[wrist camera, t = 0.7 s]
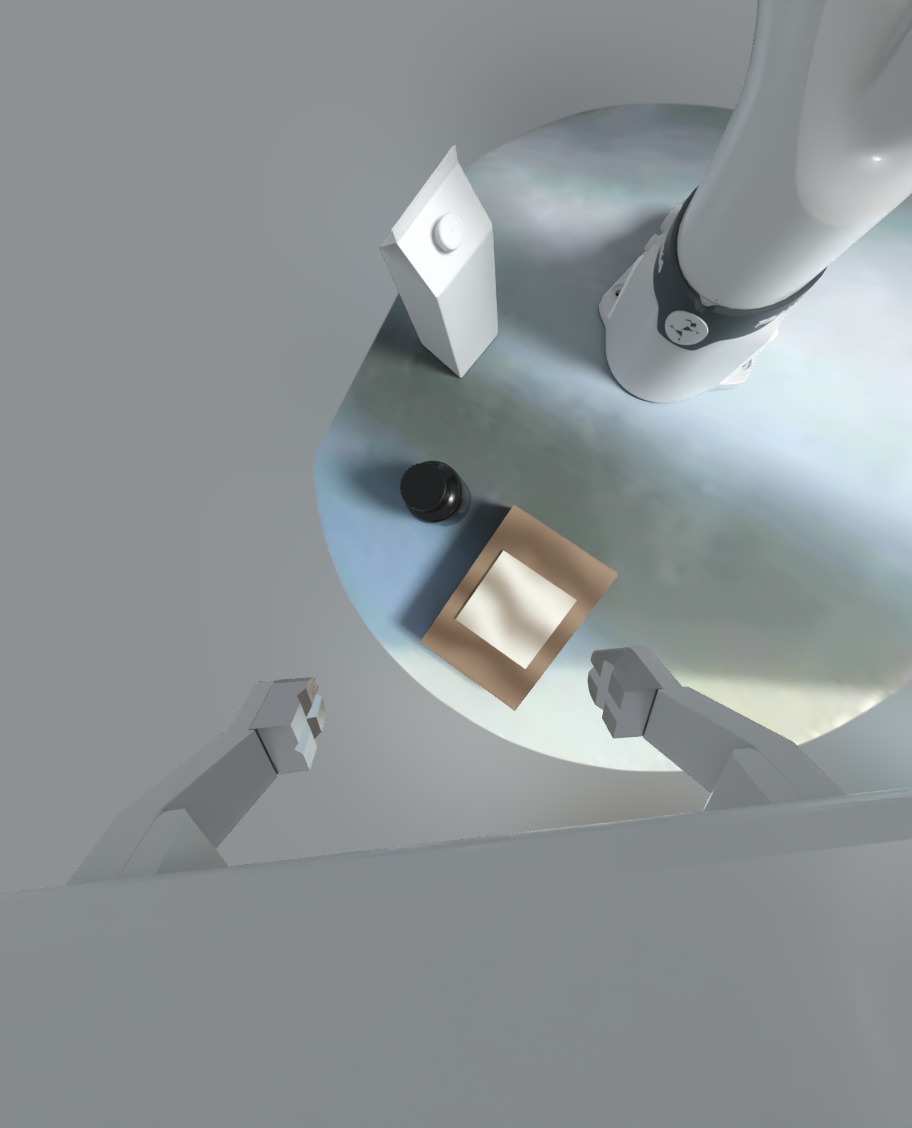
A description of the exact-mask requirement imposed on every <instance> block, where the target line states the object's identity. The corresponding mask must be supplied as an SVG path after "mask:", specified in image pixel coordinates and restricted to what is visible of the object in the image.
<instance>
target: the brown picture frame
mask: <svg viewBox="0 0 912 1128" xmlns="http://www.w3.org/2000/svg"><path fill="white" fill-rule="evenodd" d="M618 575H619V574H618V573H617V572H615V571H613V570H612V569H610V568H609V567H607V566H606V565H604V564H603V563H601V562H600V561H598V560H597V559H595V558H594V557H592V556H591V555H589V554H588V553H586V552H585V551H583V550H582V549H580V548H579V547H577V546H576V545H574V544H573V543H571V542H570V541H568V540H567V539H565V538H564V537H562V536H561V535H559V534H558V533H556V532H555V531H553V530H552V529H550V528H549V527H547V526H546V525H544V524H543V523H541V522H540V521H538V520H536V519H535V518H533V517H532V516H530V515H529V514H527V513H526V512H524V511H523V510H521V509H520V508H518V507H517V506H515V505H513V507H512V508H511V510H510V511H509V513H508V514H507V515H506V517H505V518H504V520H503V521H502V523H501V524H500V526H499V527H498V529H497V530H496V532H495V533H494V534H493V536H492V537H491V539H490V540H489V542H488V543H487V545H486V546H485V548H484V549H483V551H482V552H481V553H480V555H479V556H478V558H477V559H476V561H475V562H474V564H473V565H472V567H471V568H470V570H469V571H468V573H467V574H466V575H465V577H464V578H463V580H462V581H461V583H460V584H459V586H458V587H457V589H456V590H455V592H454V593H453V594H452V596H451V597H450V599H449V600H448V602H447V603H446V605H445V606H444V608H443V609H442V611H441V612H440V613H439V615H438V616H437V618H436V619H435V621H434V622H433V624H432V625H431V627H430V628H429V630H428V631H427V632H426V634H425V635H424V637H423V638H422V640H421V641H420V642H421V643H422V644H424V645H425V646H426V647H428V648H429V649H431V650H432V651H433V652H435V653H436V654H437V655H439V656H440V657H442V658H443V659H444V660H446V661H447V662H448V663H450V664H451V665H453V666H454V667H455V668H457V669H458V670H459V671H461V672H462V673H464V674H465V675H466V676H468V677H469V678H470V679H472V680H473V681H475V682H476V683H477V684H479V685H480V686H481V687H483V688H484V689H486V690H487V691H488V692H490V693H491V694H492V695H494V696H495V697H497V698H498V699H499V700H501V701H502V702H503V703H505V704H506V705H508V706H509V707H510V708H512V709H513V710H514V711H515V710H516V709H517V707H518V706H519V705H520V704H521V702H522V701H523V700H524V698H525V697H526V696H527V694H528V693H529V692H530V690H531V689H532V688H533V686H534V685H535V684H536V682H537V681H538V680H539V679H540V677H541V676H542V675H543V673H544V672H545V671H546V669H547V668H548V667H549V665H550V664H551V663H552V661H553V660H554V659H555V657H556V656H557V655H558V654H559V652H560V651H561V650H562V648H563V647H564V646H565V644H566V643H567V642H568V640H569V639H570V638H571V636H572V635H573V634H574V632H575V631H576V630H577V629H578V627H579V626H580V625H581V623H582V622H583V621H584V619H585V618H586V617H587V615H588V614H589V613H590V611H591V610H592V609H593V607H594V606H595V605H596V604H597V602H598V601H599V600H600V598H601V597H602V596H603V594H604V593H605V592H606V590H607V589H608V588H609V586H610V585H611V584H612V582H613V581H614V580H615V579H616V577H617V576H618Z"/></svg>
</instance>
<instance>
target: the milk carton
mask: <svg viewBox="0 0 912 1128" xmlns="http://www.w3.org/2000/svg"><path fill="white" fill-rule="evenodd" d="M379 248H380V251H381V253H382V255H383V257H384V259H385V262H386V264H387V266H388V268H389V271H390V273H391V275H392V278H393V280H394V282H395V284H396V287H397V289H398V291H399V294H400V296H401V298H402V300H403V303H404V305H405V307H406V309H407V312H408V314H409V316H410V318H411V321H412V323H413V325H414V327H415V330H416V332H417V334H418V337H419V339H420V341H421V343H422V344H423V345H424V346H425V347H426V348H427V349H428V350H429V351H431V352H432V353H433V354H434V355H435V356H436V357H437V358H438V359H440V360H441V361H442V362H443V363H444V364H445V365H446V366H447V367H449V368H450V369H451V370H452V371H453V372H454V373H455V374H456V375H458V376H459V377H460V378H462V377H463V376H464V375H465V373H466V372H467V371H468V370H469V368H470V367H471V366H472V365H473V364H474V362H475V361H476V360H477V359H478V358H479V356H480V355H481V354H482V353H483V352H484V350H485V349H486V348H487V347H488V346H489V344H490V343H491V342H492V341H493V340H494V338H495V337H496V336H497V334H498V317H497V297H496V278H495V259H494V239H493V225H492V223H491V221H490V219H489V217H488V215H487V213H486V212H485V210H484V208H483V206H482V204H481V203H480V201H479V199H478V197H477V195H476V193H475V192H474V190H473V188H472V186H471V184H470V183H469V181H468V179H467V177H466V175H465V174H464V172H463V170H462V168H461V166H460V165H459V163H458V159H457V152H456V146H454V145H453V146H452V148H451V149H450V150H449V152H448V153H447V154H446V156H445V157H444V158H443V160H442V161H441V163H440V164H439V165H438V167H437V168H436V169H435V171H434V172H433V173H432V175H431V176H430V178H429V179H428V180H427V182H426V183H425V185H424V186H423V187H422V189H421V190H420V191H419V193H418V194H417V195H416V197H415V198H414V199H413V201H412V202H411V204H410V205H409V206H408V208H407V209H406V210H405V212H404V213H403V214H402V216H401V217H400V219H399V220H398V221H397V223H396V224H395V226H394V227H393V228H392V230H391V231H390V233H389V234H388V236H387V237H386V238H385V240H384V241H383V242H382V244H381V245H380V247H379Z"/></svg>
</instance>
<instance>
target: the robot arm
mask: <svg viewBox="0 0 912 1128" xmlns="http://www.w3.org/2000/svg"><path fill="white" fill-rule="evenodd" d="M911 193H912V0H758V3H757V17H756V25H755V32H754V39H753V47H752V52H751V57H750V62H749V67H748V70H747V74H746V78H745V82H744V85H743V88H742V91H741V94H740V97H739V99H738V102H737V104H736V107H735V109H734V111H733V114H732V116H731V118H730V121H729V123H728V125H727V128H726V130H725V132H724V135H723V137H722V139H721V141H720V143H719V145H718V148H717V150H716V152H715V154H714V156H713V158H712V160H711V162H710V164H709V166H708V168H707V171H706V173H705V175H704V177H703V179H702V181H701V183H700V185H699V186H698V187H697V188H696V189H695V190H694V191H693V192H692V193H691V195H690V196H689V197H688V198H687V200H686V201H685V203H684V204H681V203H677V204H676V205H675V206H674V207H673V208H672V209H671V211H670V212H669V213H668V215H667V216H666V218H665V219H664V221H663V223H662V225H661V227H660V231H661V232H662V233H661V234H660V235H659V236H658V235H656V234H654V235H653V236H652V237H651V238H650V240H649V241H648V242H647V244H646V246H645V248H644V250H645V251H644V252H643V254H642V255H641V256H639V258H638V259H637V260H636V261H635V262H634V263H633V264H632V265H631V266H630V267H629V268H628V269H627V271H626V272H625V273H624V274H623V275H622V276H621V277H620V278H619V279H618V280H617V281H616V282H615V283H614V284H613V285H612V286H611V288H610V289H609V290H608V291H607V292H606V293H605V294H604V295H603V297H602V299H601V301H600V303H599V312H600V315H601V318H602V320H603V323H604V325H605V328H606V356H607V361H608V364H609V367H610V369H611V372H612V373H613V375H614V377H615V378H616V380H617V381H618V382H619V383H620V385H621V386H622V387H623V388H625V389H626V390H627V391H628V392H630V393H631V394H633V395H635V396H637V397H639V398H641V399H644V400H647V401H651V402H658V403H671V402H678V401H683V400H686V399H689V398H692V397H694V396H696V395H699V394H701V393H703V392H706V391H709V390H719V389H730V388H735V387H737V386H739V385H740V384H741V383H742V382H744V381H745V380H746V379H747V377H748V375H749V373H750V371H751V369H752V367H753V365H754V363H755V361H756V359H757V357H758V355H759V353H760V351H761V350H762V349H763V348H764V347H766V346H767V345H768V344H769V343H770V342H771V341H772V340H773V339H774V338H775V337H776V336H777V334H778V331H777V329H778V327H779V325H780V324H781V322H782V320H783V317H784V315H785V313H786V311H787V310H788V309H789V308H790V307H792V306H793V305H794V304H795V303H796V302H797V301H798V300H799V299H800V298H801V297H803V295H804V294H805V293H806V292H807V291H808V290H809V289H810V288H811V287H812V286H813V285H814V284H815V282H816V281H817V280H818V279H819V278H820V277H821V276H822V274H823V273H824V271H825V270H826V268H827V267H828V265H829V264H830V263H832V262H833V261H834V260H835V259H836V258H837V257H839V256H840V255H841V254H842V253H843V252H844V251H845V250H847V249H848V248H849V247H850V246H851V245H852V244H854V243H855V242H856V241H857V240H858V239H859V238H861V237H862V236H863V235H864V234H865V233H866V232H867V231H869V230H870V229H871V228H872V227H873V226H874V225H876V224H877V223H878V222H879V221H880V220H881V219H882V218H884V217H885V216H886V215H887V214H888V213H889V212H891V211H892V210H893V209H894V208H895V207H896V206H898V205H899V204H900V203H901V202H902V201H903V200H904V199H905V198H907V197H908V196H909V195H910V194H911ZM617 293H618V294H619V296H618V297H617V296H616V295H615V294H617ZM741 367H742V368H741ZM591 662H592V664H593V666H594V667H593V668H592V669H591V670H590V671H589V674H588V687H589V692H590V695H591V697H592V699H593V701H594V703H595V705H597V706H598V707H599V708H601V709H602V710H603V715H602V719H603V720H604V722H605V724H606V726H607V728H608V730H609V732H610V733H611V735H612V737H613V738H625V737H638V736H644V737H643V738H644V739H645V740H647V741H648V742H649V743H650V744H652V745H653V746H654V747H655V748H656V749H658V750H659V751H660V752H661V753H663V754H664V755H665V756H666V757H667V758H669V759H670V760H671V761H672V762H674V763H675V764H676V765H677V766H678V767H680V768H681V769H682V770H683V771H685V772H686V773H687V774H688V775H689V776H691V777H692V778H693V779H694V780H696V781H697V782H698V783H699V784H700V785H702V786H703V787H704V788H705V789H706V790H708V791H709V792H710V793H711V795H710V797H709V799H708V801H707V803H706V805H705V807H704V810H703V812H695V813H686V814H677V815H668V816H659V817H651V818H643V819H633V820H625V821H617V822H607V823H599V824H591V825H581V826H573V827H564V828H555V829H547V830H538V831H529V832H521V833H512V834H503V835H494V836H486V837H477V838H469V839H460V840H452V841H443V842H434V843H426V844H418V845H409V846H400V847H392V848H384V849H374V850H366V851H357V852H349V853H340V854H331V855H323V856H314V857H305V858H297V859H288V860H279V861H271V862H262V863H254V864H245V865H237V866H228V864H227V862H226V861H225V860H224V858H223V857H222V856H221V854H220V853H219V852H218V851H217V849H216V848H217V847H218V846H219V845H220V844H221V842H222V841H223V840H224V839H225V838H226V836H227V835H228V834H229V833H230V832H231V831H232V829H233V828H234V827H235V826H236V825H237V823H238V822H239V821H240V820H241V819H242V818H243V816H244V815H245V814H246V813H247V812H248V811H249V809H250V808H251V807H252V806H253V805H254V804H255V802H256V801H257V800H258V799H259V798H260V797H261V795H262V794H263V793H264V792H265V791H266V789H267V788H268V787H269V786H270V785H271V784H272V782H273V781H274V780H275V779H276V778H277V775H278V774H285V773H292V772H300V771H308V770H310V768H311V765H312V761H313V758H314V755H315V752H316V748H317V745H316V743H315V740H314V739H315V738H316V737H317V736H318V735H319V734H320V733H321V732H322V729H323V725H324V719H325V706H324V701H323V698H322V697H320V696H319V695H318V694H316V693H317V690H318V684H317V682H316V679H315V678H298V679H284V680H275V681H260V682H258V683H257V684H256V685H255V686H254V687H253V689H252V691H251V692H250V694H249V696H248V698H247V699H246V701H245V703H244V704H243V706H242V708H241V710H240V711H239V713H238V715H237V716H236V718H235V720H234V722H233V724H232V725H231V727H230V729H229V730H228V732H226V733H221V734H220V735H218V736H217V737H216V738H214V739H213V740H212V741H211V742H209V743H208V744H207V745H205V746H204V747H203V748H202V749H200V750H199V751H198V752H197V753H195V754H194V755H193V756H191V757H190V758H189V759H187V760H186V761H185V762H184V763H182V764H181V765H180V766H178V767H177V768H176V769H175V770H173V771H172V772H171V773H169V774H168V775H167V776H166V777H164V778H163V779H162V780H160V781H159V782H158V783H157V784H155V785H154V786H153V787H151V788H150V789H149V790H148V791H146V792H145V793H144V794H142V795H141V796H140V797H138V798H137V799H136V800H135V801H133V802H132V803H131V804H130V805H128V806H127V807H126V808H125V809H123V810H122V811H120V812H119V813H118V814H117V815H116V816H115V818H114V819H113V821H112V822H111V823H110V825H109V826H108V827H107V829H106V830H105V831H104V833H103V834H102V836H101V837H100V838H99V840H98V841H97V842H96V844H95V845H94V846H93V848H92V849H91V851H90V852H89V853H88V855H87V856H86V857H85V859H84V860H83V862H82V863H81V864H80V866H79V867H78V868H77V870H76V871H75V873H74V874H73V875H72V877H71V878H70V879H69V881H68V882H67V884H66V885H63V886H54V887H45V888H37V889H28V890H19V891H10V892H2V893H0V1128H912V787H910V788H901V789H892V790H883V791H875V792H866V793H857V794H849V795H847V794H846V793H845V792H844V791H843V790H842V789H841V788H840V787H839V786H838V785H837V784H836V783H835V782H834V781H833V780H832V779H831V778H830V777H829V776H827V774H826V773H825V772H824V771H822V770H821V769H820V768H819V767H818V766H817V765H816V764H815V763H814V762H813V761H812V760H811V759H810V758H809V757H808V756H807V755H806V754H805V753H804V752H803V751H802V750H801V749H800V748H799V747H798V746H797V745H796V744H795V743H794V742H792V741H790V740H789V739H787V738H785V737H783V736H781V735H779V734H777V733H775V732H773V731H771V730H769V729H768V728H766V727H764V726H762V725H760V724H758V723H756V722H754V721H752V720H750V719H749V718H747V717H745V716H743V715H741V714H739V713H737V712H735V711H733V710H731V709H730V708H728V707H726V706H724V705H722V704H720V703H718V702H716V701H714V700H712V699H710V698H709V697H707V696H705V695H703V694H701V693H699V692H697V691H695V690H693V689H691V688H690V687H682V686H681V685H680V683H679V682H678V681H677V680H676V679H675V678H674V676H673V675H672V674H671V673H670V672H669V671H668V669H667V668H666V667H665V666H664V665H663V664H662V662H661V661H660V660H659V659H658V658H657V657H656V655H655V654H654V653H653V652H652V651H651V650H650V649H649V648H648V647H647V646H645V645H644V646H634V647H627V648H616V649H606V650H597V651H594V652H593V653H592V657H591Z"/></svg>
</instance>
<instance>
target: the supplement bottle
mask: <svg viewBox="0 0 912 1128" xmlns="http://www.w3.org/2000/svg"><path fill="white" fill-rule="evenodd" d="M400 486H401V487H400V490H401V495H402V498H403V502H404V504H405V507H406V509H407V510H408V511H409V513H410V514H411V515H412V516H413V517H415V518H416V519H418V520H420V521H422V522H425V523H430V524H435V525H440V526H450V525H454V524H456V523H458V522H460V521H461V520H462V519H463V518H464V517H465V516H466V515H467V513H468V511H469V509H470V505H471V494H470V490H469V488H468V486H467V485H466V483H465V482H464V481H463V480H462V478H461V477H460V476H459V475H458V474H457V473H456V471H455V470H454V469H453V468H451V467H450V466H448V465H447V464H445V463H443V462H439V461H426V462H423V463H420V464H416V465H413V466H412V467H411V468H409V469H408V470H407V471H406V472H405V474H404V475H403V478H402V479H401V484H400Z"/></svg>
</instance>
